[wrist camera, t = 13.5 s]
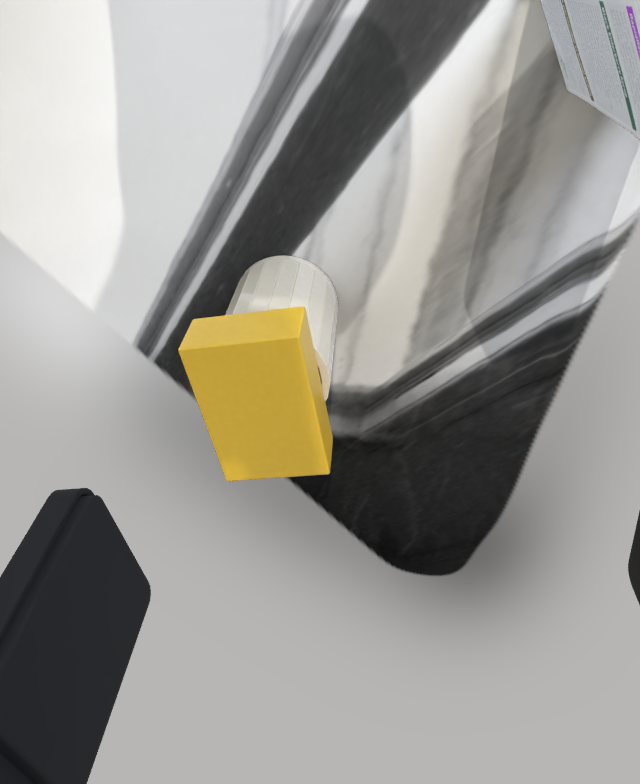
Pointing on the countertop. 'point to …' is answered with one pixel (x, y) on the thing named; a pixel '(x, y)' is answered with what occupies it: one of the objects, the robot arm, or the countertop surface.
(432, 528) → the countertop surface
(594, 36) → the syrup box
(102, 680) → the robot arm
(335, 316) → the cup
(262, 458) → the block
